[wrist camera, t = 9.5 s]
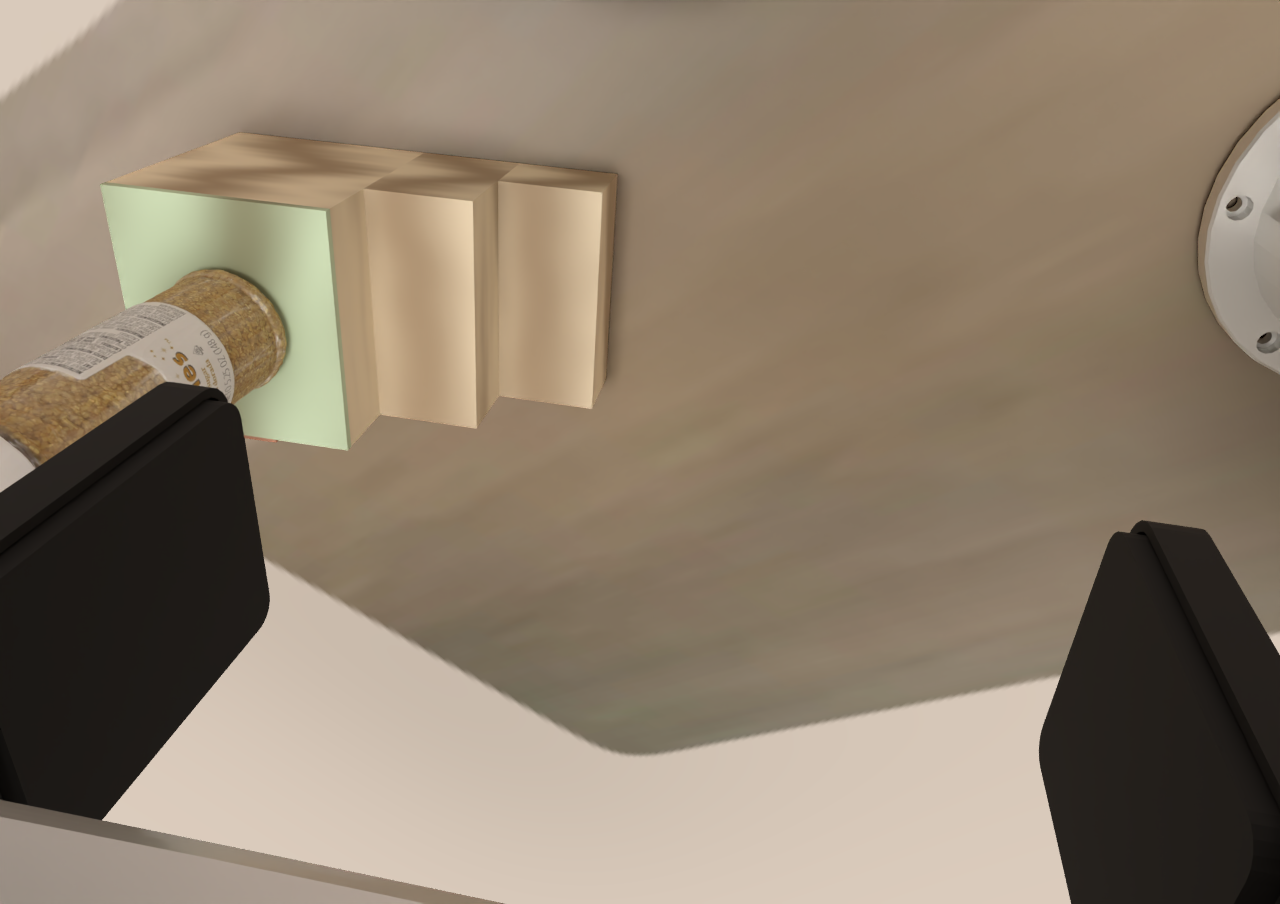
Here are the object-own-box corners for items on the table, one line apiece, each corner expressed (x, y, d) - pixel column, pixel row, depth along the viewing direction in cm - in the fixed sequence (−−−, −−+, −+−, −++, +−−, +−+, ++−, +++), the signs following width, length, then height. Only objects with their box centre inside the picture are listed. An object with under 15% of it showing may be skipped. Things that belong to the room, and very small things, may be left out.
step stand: (617, 174, 39) (564, 239, 31) (605, 389, 43) (556, 493, 36) (239, 132, 40) (100, 184, 33) (267, 343, 45) (150, 432, 37)
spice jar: (300, 389, 35) (30, 624, 24) (186, 378, 36) (-131, 600, 24) (279, 267, 33) (-33, 461, 21) (157, 258, 34) (-206, 440, 22)
